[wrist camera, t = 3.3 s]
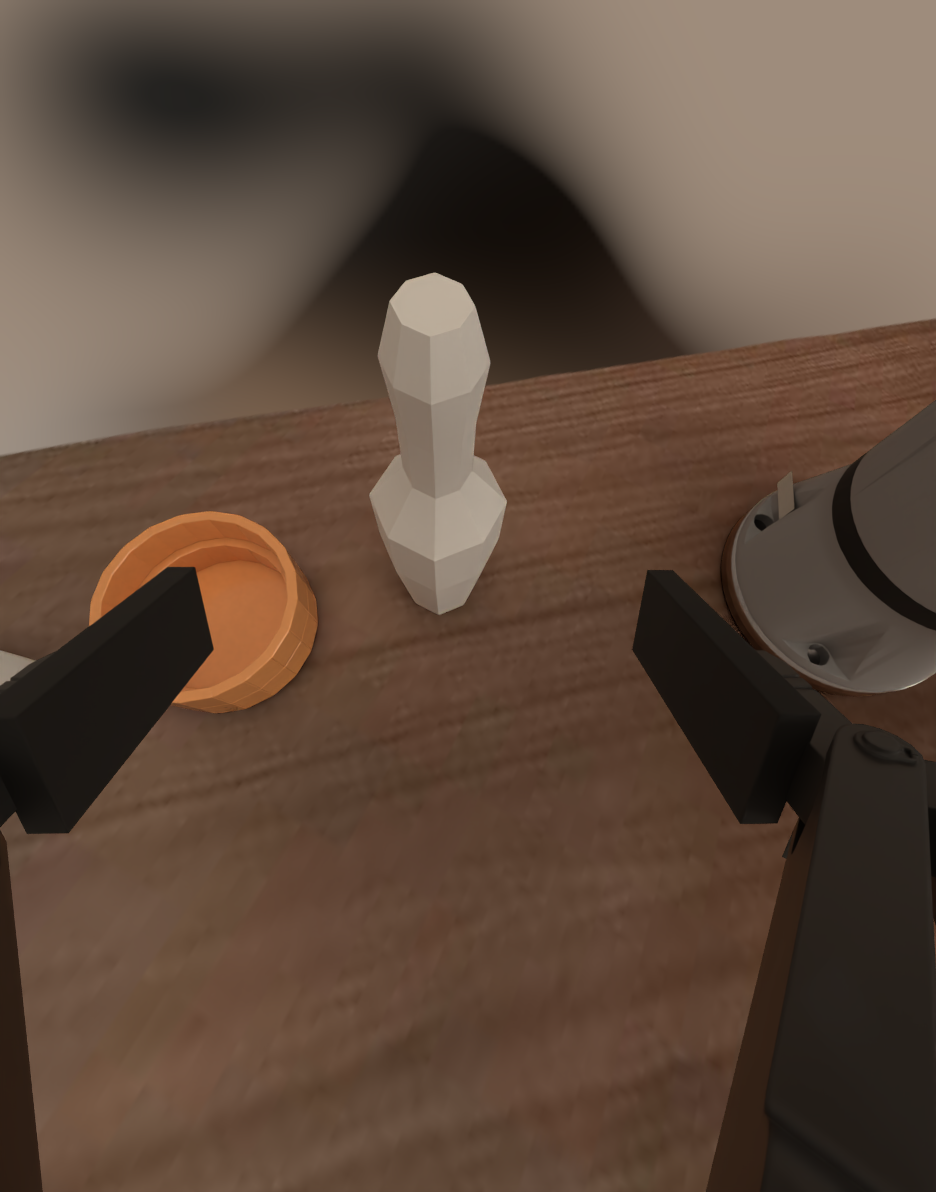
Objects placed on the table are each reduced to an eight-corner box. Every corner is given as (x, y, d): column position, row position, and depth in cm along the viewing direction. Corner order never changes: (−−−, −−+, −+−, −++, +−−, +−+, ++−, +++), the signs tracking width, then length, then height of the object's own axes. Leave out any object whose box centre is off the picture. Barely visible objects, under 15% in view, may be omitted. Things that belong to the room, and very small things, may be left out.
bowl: (313, 539, 36) (290, 499, 31) (326, 696, 32) (303, 682, 27) (147, 562, 35) (95, 525, 29) (142, 728, 31) (82, 719, 26)
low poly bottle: (437, 644, 34) (422, 435, 13) (375, 578, 35) (272, 293, 14) (505, 584, 35) (589, 313, 14) (443, 523, 37) (440, 196, 16)
